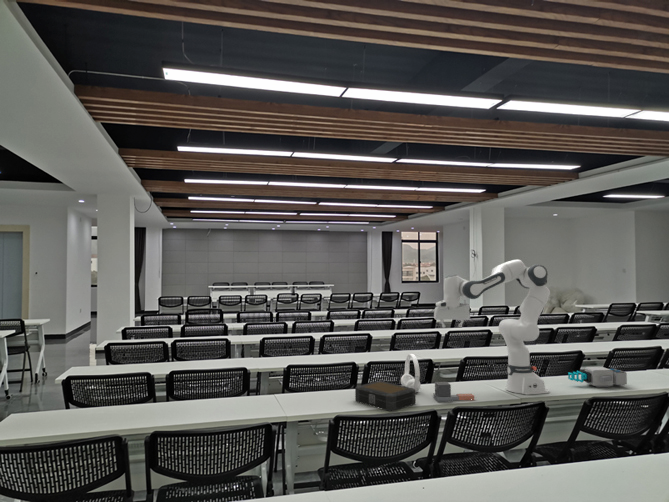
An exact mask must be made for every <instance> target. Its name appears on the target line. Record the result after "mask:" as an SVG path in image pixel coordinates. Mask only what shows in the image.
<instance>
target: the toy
mask: <svg viewBox="0 0 669 502" xmlns="http://www.w3.org/2000/svg"><path fill="white" fill-rule="evenodd" d="M567 373H568V374H567V375H568V377H567V378H568V380H570V381H575V382H580V383H584V382H585V383H586V384H589V385H590V386H593V387H594V388H611V386H612V387H613V386H614V385H616V386H625V385H628V384H627V383H628V377H627V376H628V375H627V373H628V372H626V371H623V370H620V369H617V368H606V367H604V366H586V367H584V370H583V371H582V372H581V371H579V370H576V371H572V372H567ZM579 376H580V377H579Z"/></svg>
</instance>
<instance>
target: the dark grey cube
mask: <svg viewBox="0 0 669 502" xmlns="http://www.w3.org/2000/svg"><path fill="white" fill-rule="evenodd" d="M451 387H452V384H451V383H449V382H448V381H434V393H435V394H436V395H437V396H438V397H451V395H452V394H451V393H452V390H451V389H452V388H451Z"/></svg>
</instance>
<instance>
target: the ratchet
mask: <svg viewBox="0 0 669 502" xmlns="http://www.w3.org/2000/svg"><path fill="white" fill-rule="evenodd" d="M432 395H433V397H432V398H433V399H434V400H435V401H436V402H437V403H449V402H448V401H452V400H470V401H475V395H474V394H473V393H457V394H451V397H438V396H437V395H436V394H435V392H434V393H433V394H432ZM471 399H472V400H471ZM452 402H453V401H452Z"/></svg>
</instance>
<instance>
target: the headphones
mask: <svg viewBox="0 0 669 502" xmlns="http://www.w3.org/2000/svg"><path fill="white" fill-rule="evenodd" d="M411 359H412V362H413V365H414V373H415V374H414V376H413V375H411V374H410V361H411ZM404 362H405V363H404V374H403V375H402V376H401V378H400V384H401V386H405V387H409V388H413V389H415V394H416V393H417V392H419V391H420V389H421V382H420V378H421V373H420V365H419V361H418V358H417V356H416V355H415V354H414V353H408V354H407V355H406V356H405V361H404Z"/></svg>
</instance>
